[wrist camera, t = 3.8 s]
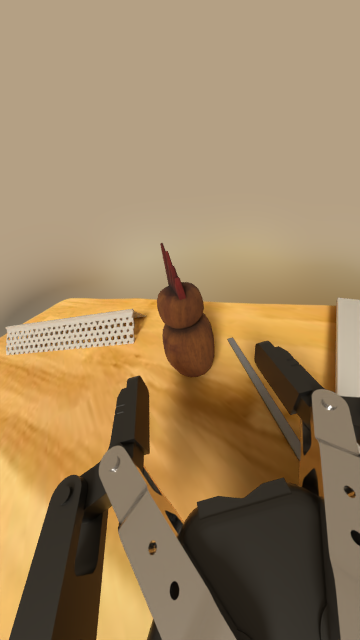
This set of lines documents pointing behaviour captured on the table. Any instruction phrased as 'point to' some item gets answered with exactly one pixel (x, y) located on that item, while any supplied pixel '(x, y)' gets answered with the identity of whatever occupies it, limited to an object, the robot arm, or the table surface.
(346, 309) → the baseboard molding
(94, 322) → the corner bead
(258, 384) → the thin grey rod
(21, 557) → the table surface
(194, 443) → the table surface
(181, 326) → the wooden figurine
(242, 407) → the table surface
